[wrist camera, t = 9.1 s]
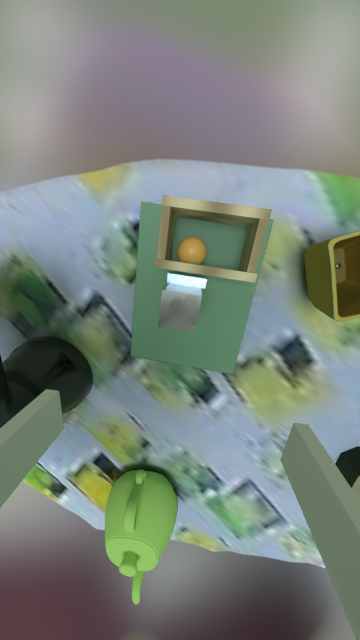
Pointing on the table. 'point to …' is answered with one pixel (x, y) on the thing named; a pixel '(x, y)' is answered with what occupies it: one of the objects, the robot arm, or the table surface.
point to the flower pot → (335, 276)
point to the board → (216, 304)
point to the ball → (192, 250)
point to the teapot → (139, 523)
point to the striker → (181, 301)
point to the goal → (219, 214)
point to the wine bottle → (351, 468)
